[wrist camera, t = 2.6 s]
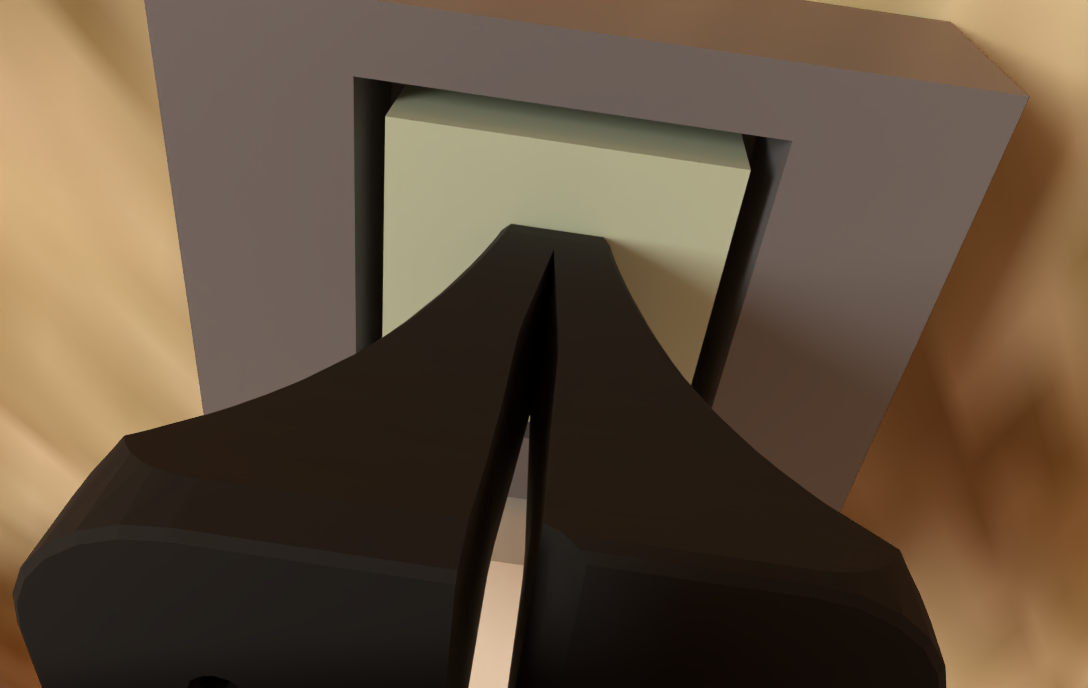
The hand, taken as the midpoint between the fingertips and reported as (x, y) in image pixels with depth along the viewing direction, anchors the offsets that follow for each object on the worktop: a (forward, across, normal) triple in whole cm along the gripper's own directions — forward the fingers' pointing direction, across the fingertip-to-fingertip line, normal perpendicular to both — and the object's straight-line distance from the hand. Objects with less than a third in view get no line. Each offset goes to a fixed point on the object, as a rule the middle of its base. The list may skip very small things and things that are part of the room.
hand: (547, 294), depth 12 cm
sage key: (+2, 0, 0) cm, 2 cm away
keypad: (+3, 0, +6) cm, 7 cm away
